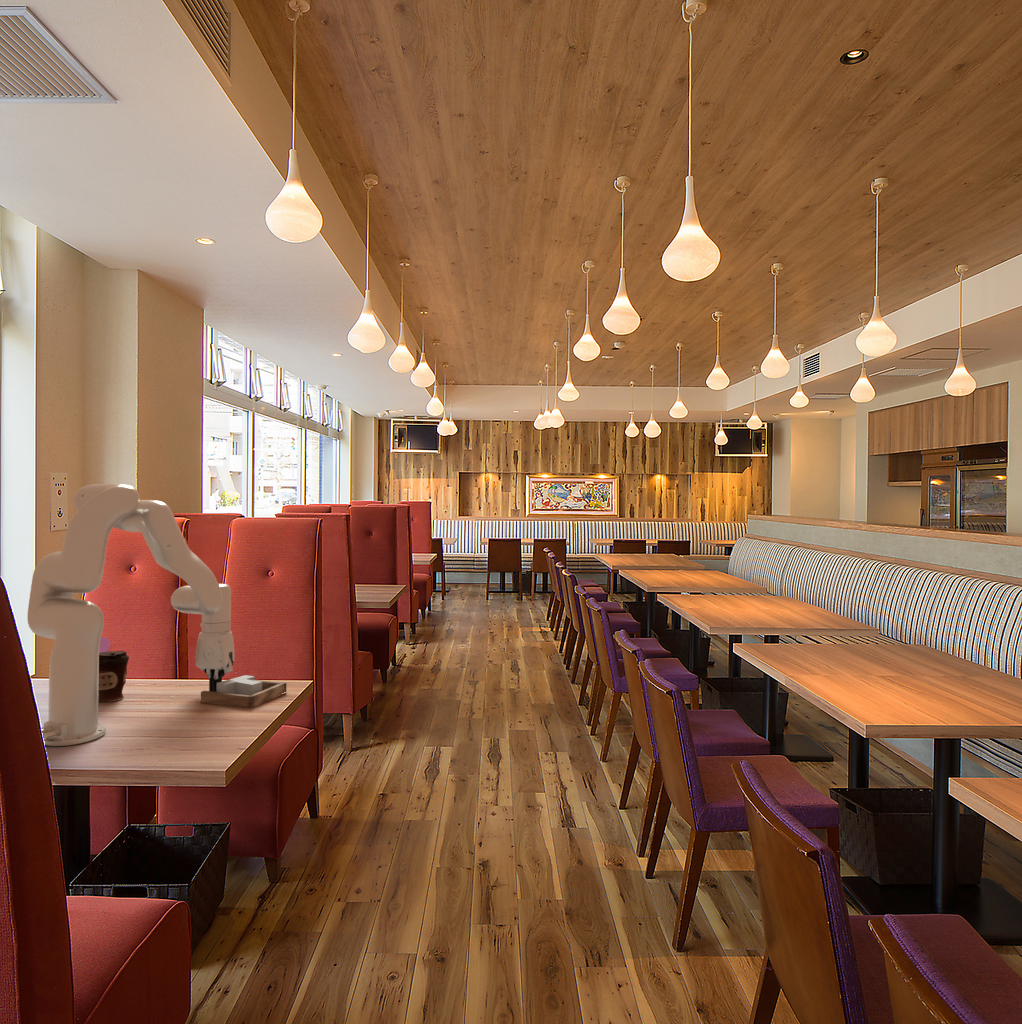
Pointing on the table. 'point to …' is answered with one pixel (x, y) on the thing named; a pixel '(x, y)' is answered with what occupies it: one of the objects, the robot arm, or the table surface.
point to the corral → (245, 696)
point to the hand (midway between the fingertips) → (215, 691)
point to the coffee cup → (112, 675)
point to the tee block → (240, 685)
